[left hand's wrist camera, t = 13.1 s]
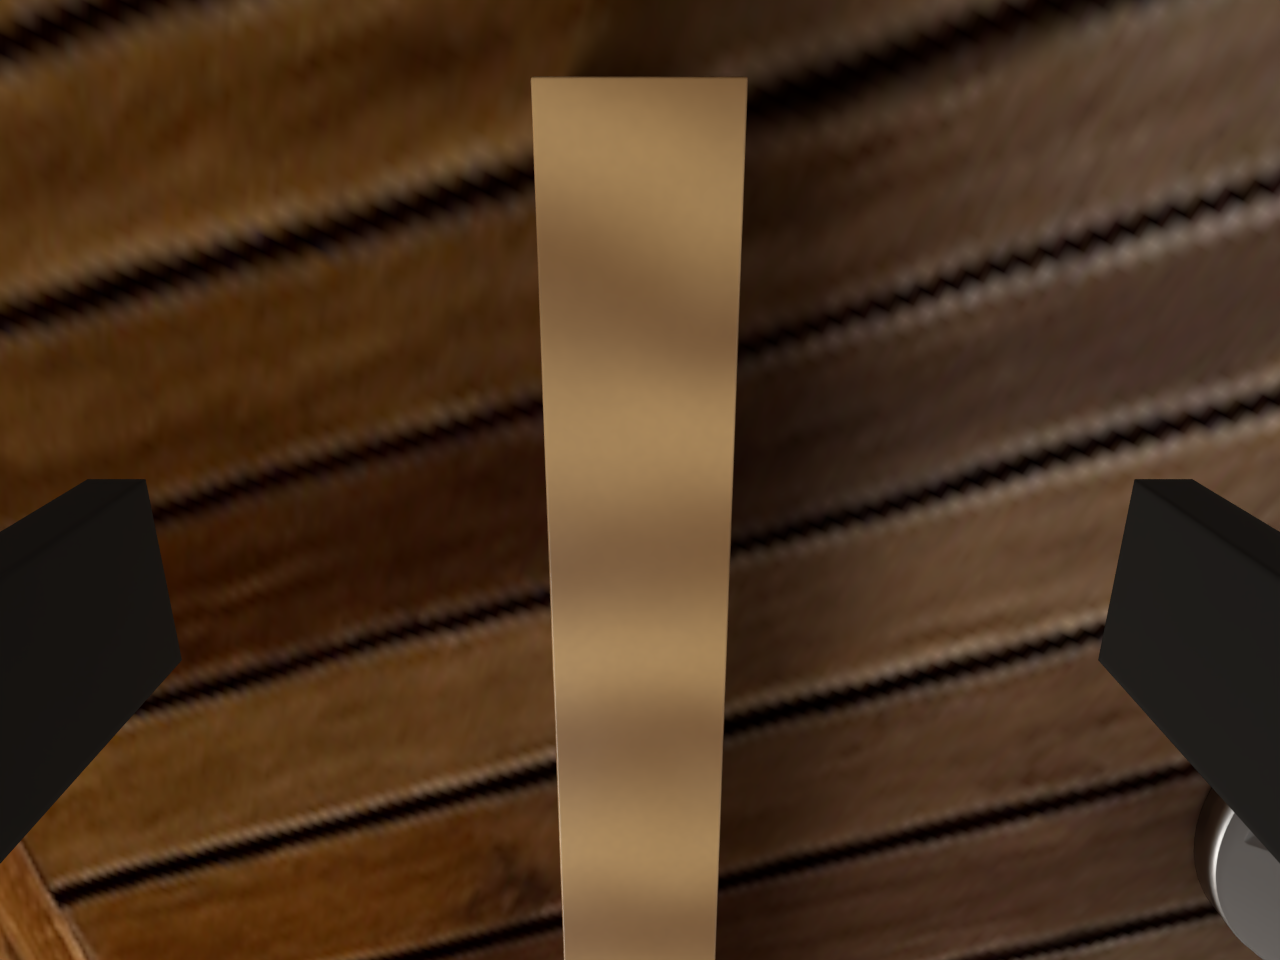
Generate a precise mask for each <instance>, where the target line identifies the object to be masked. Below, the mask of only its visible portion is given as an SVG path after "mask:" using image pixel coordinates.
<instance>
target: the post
mask: <svg viewBox="0 0 1280 960" xmlns="http://www.w3.org/2000/svg"><path fill="white" fill-rule="evenodd" d="M747 89H748V79H747V77H532V78H531V96H532V123H533V150H534V176H535V203H536V230H537V256H538V283H539V310H540V337H541V363H542V390H543V417H544V443H545V470H546V497H547V524H548V550H549V577H550V604H551V631H552V657H553V684H554V711H555V737H556V764H557V791H558V818H559V844H560V871H561V898H562V924H563V951H564V960H715V955H716V928H717V901H718V873H719V846H720V819H721V792H722V765H723V738H724V711H725V684H726V657H727V630H728V603H729V576H730V549H731V522H732V495H733V468H734V441H735V414H736V387H737V360H738V333H739V305H740V278H741V251H742V224H743V197H744V170H745V143H746V116H747Z"/></svg>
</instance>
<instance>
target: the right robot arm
mask: <svg viewBox="0 0 1280 960" xmlns="http://www.w3.org/2000/svg"><path fill="white" fill-rule="evenodd" d="M1194 860H1195V867H1196V872H1197V876H1198V879H1199V882H1200V884H1201V887H1202V889H1203V891H1204V893H1205V895H1206V897H1207V898H1208V900H1209V901H1210V902H1211V904H1212V905H1213V907H1214V908H1215V909H1216V911H1217V912H1218V913H1219V915H1220V916H1221V917H1222V918H1223V920H1224V921H1225V922H1226V924H1227V925H1228V926H1229V928H1230V929H1231V930H1232V931H1233V933H1234V934H1235V935H1236V936H1237V937H1238V938H1239V939H1240V940H1241V942H1242V943H1244V944H1245V945H1246V946H1247V947H1248V948H1250V949H1251V950H1252V951H1253V952H1254V953H1255V954H1257V955H1258V956H1259V957H1260V958H1262V959H1263V960H1280V863H1279V862H1278V861H1277V860H1276V859H1275V858H1274V856H1273V855H1272V854H1271V853H1270V852H1269V851H1268V850H1267V849H1266V847H1265V846H1264V845H1263V844H1262V843H1261V842H1260V841H1259V840H1258V839H1257V837H1256V836H1255V835H1254V834H1253V833H1252V832H1251V831H1250V830H1249V828H1248V827H1247V826H1246V825H1245V824H1244V823H1243V822H1242V821H1241V819H1240V818H1239V817H1238V816H1237V815H1236V814H1235V813H1234V812H1233V810H1232V809H1231V808H1230V807H1229V806H1228V805H1227V804H1226V803H1225V802H1224V800H1223V799H1222V798H1221V797H1220V796H1219V795H1218V794H1217V793H1216V791H1215V790H1214V789H1213V788H1212V789H1211V791H1210V793H1209V794H1208V796H1207V798H1206V800H1205V803H1204V805H1203V808H1202V810H1201V813H1200V816H1199V819H1198V823H1197V827H1196V832H1195V838H1194Z"/></svg>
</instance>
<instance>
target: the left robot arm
mask: <svg viewBox="0 0 1280 960" xmlns="http://www.w3.org/2000/svg"><path fill="white" fill-rule="evenodd" d="M181 660H182V659H181V654H180V649H179V644H178V639H177V634H176V629H175V624H174V619H173V614H172V609H171V604H170V599H169V594H168V589H167V584H166V579H165V574H164V569H163V565H162V560H161V555H160V550H159V545H158V540H157V535H156V530H155V525H154V520H153V515H152V510H151V505H150V500H149V495H148V490H147V485H146V480H145V479H87V480H86V481H84V482H82V483H81V484H79V485H77V486H76V487H74V488H73V489H71V490H69V491H68V492H66V493H64V494H63V495H61V496H59V497H58V498H56V499H54V500H53V501H51V502H49V503H48V504H46V505H44V506H43V507H41V508H39V509H38V510H36V511H34V512H33V513H31V514H29V515H28V516H26V517H24V518H23V519H21V520H19V521H18V522H16V523H14V524H13V525H11V526H9V527H8V528H6V529H4V530H3V531H1V532H0V863H1V862H2V861H3V860H4V859H5V858H6V856H7V855H8V854H9V853H10V852H11V851H12V850H13V849H14V847H15V846H16V845H17V844H18V843H19V842H20V841H21V840H22V839H23V837H24V836H25V835H26V834H27V833H28V832H29V831H30V830H31V828H32V827H33V826H34V825H35V824H36V823H37V822H38V821H39V819H40V818H41V817H42V816H43V815H44V814H45V813H46V812H47V810H48V809H49V808H50V807H51V806H52V805H53V804H54V803H55V802H56V800H57V799H58V798H59V797H60V796H61V795H62V794H63V793H64V791H65V790H66V789H67V788H68V787H69V786H70V785H71V784H72V782H73V781H74V780H75V779H76V778H77V777H78V776H79V775H80V774H81V772H82V771H83V770H84V769H85V768H86V767H87V766H88V765H89V763H90V762H91V761H92V760H93V759H94V758H95V757H96V756H97V754H98V753H99V752H100V751H101V750H102V749H103V748H104V747H105V745H106V744H107V743H108V742H109V741H110V740H111V739H112V738H113V737H114V735H115V734H116V733H117V732H118V731H119V730H120V729H121V728H122V726H123V725H124V724H125V723H126V722H127V721H128V720H129V719H130V717H131V716H132V715H133V714H134V713H135V712H136V711H137V710H138V708H139V707H140V706H141V705H142V704H143V703H144V702H145V701H146V700H147V698H148V697H149V696H150V695H151V694H152V693H153V692H154V691H155V689H156V688H157V687H158V686H159V685H160V684H161V683H162V682H163V680H164V679H165V678H166V677H167V676H168V675H169V674H170V673H171V672H172V670H173V669H174V668H175V667H176V666H177V665H178V664H179V663H180V661H181ZM1098 660H1099V661H1100V663H1101V664H1102V665H1103V666H1104V667H1105V668H1106V669H1107V670H1108V672H1109V673H1110V674H1111V675H1112V676H1113V677H1114V678H1115V679H1116V680H1117V682H1118V683H1119V684H1120V685H1121V686H1122V687H1123V688H1124V689H1125V691H1126V692H1127V693H1128V694H1129V695H1130V696H1131V697H1132V698H1133V700H1134V701H1135V702H1136V703H1137V704H1138V705H1139V706H1140V707H1141V708H1142V710H1143V711H1144V712H1145V713H1146V714H1147V715H1148V716H1149V717H1150V719H1151V720H1152V721H1153V722H1154V723H1155V724H1156V725H1157V726H1158V728H1159V729H1160V730H1161V731H1162V732H1163V733H1164V734H1165V735H1166V737H1167V738H1168V739H1169V740H1170V741H1171V742H1172V743H1173V744H1174V745H1175V747H1176V748H1177V749H1178V750H1179V751H1180V752H1181V753H1182V754H1183V756H1184V757H1185V758H1186V759H1187V760H1188V761H1189V762H1190V763H1191V765H1192V766H1193V767H1194V768H1195V769H1196V770H1197V771H1198V772H1199V774H1200V775H1201V776H1202V777H1203V778H1204V779H1205V780H1206V781H1207V782H1208V784H1209V785H1210V786H1211V787H1212V788H1213V789H1214V790H1215V791H1216V793H1217V794H1218V795H1219V796H1220V797H1221V798H1222V799H1223V800H1224V802H1225V803H1226V804H1227V805H1228V806H1229V807H1230V808H1231V809H1232V810H1233V812H1234V813H1235V814H1236V815H1237V816H1238V817H1239V818H1240V819H1241V821H1242V822H1243V823H1244V824H1245V825H1246V826H1247V827H1248V828H1249V830H1250V831H1251V832H1252V833H1253V834H1254V835H1255V836H1256V837H1257V839H1258V840H1259V841H1260V842H1261V843H1262V844H1263V845H1264V846H1265V847H1266V849H1267V850H1268V851H1269V852H1270V853H1271V854H1272V855H1273V856H1274V858H1275V859H1276V860H1277V861H1278V862H1279V863H1280V532H1279V531H1277V530H1276V529H1274V528H1272V527H1271V526H1269V525H1267V524H1266V523H1264V522H1262V521H1261V520H1259V519H1257V518H1256V517H1254V516H1252V515H1251V514H1249V513H1247V512H1246V511H1244V510H1242V509H1241V508H1239V507H1237V506H1236V505H1234V504H1232V503H1231V502H1229V501H1227V500H1226V499H1224V498H1222V497H1221V496H1219V495H1217V494H1216V493H1214V492H1212V491H1211V490H1209V489H1207V488H1206V487H1204V486H1203V485H1201V484H1199V483H1198V482H1196V481H1194V480H1193V479H1135V480H1134V485H1133V490H1132V495H1131V500H1130V505H1129V510H1128V515H1127V520H1126V525H1125V530H1124V535H1123V540H1122V545H1121V550H1120V555H1119V560H1118V565H1117V569H1116V574H1115V579H1114V584H1113V589H1112V594H1111V599H1110V604H1109V609H1108V614H1107V619H1106V624H1105V629H1104V634H1103V639H1102V644H1101V649H1100V654H1099V659H1098Z"/></svg>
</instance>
